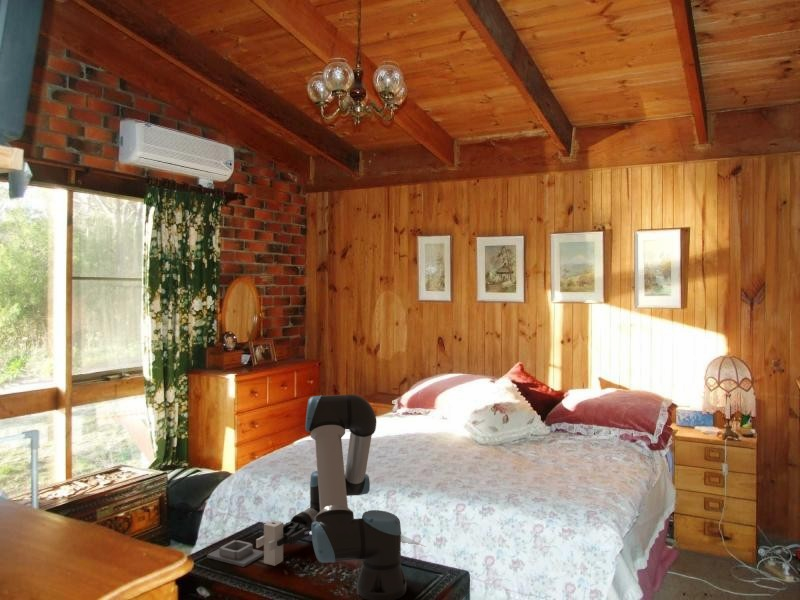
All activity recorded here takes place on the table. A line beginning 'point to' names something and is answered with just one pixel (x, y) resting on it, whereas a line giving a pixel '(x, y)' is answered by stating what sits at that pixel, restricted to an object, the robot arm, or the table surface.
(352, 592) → the table surface
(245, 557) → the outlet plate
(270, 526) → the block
